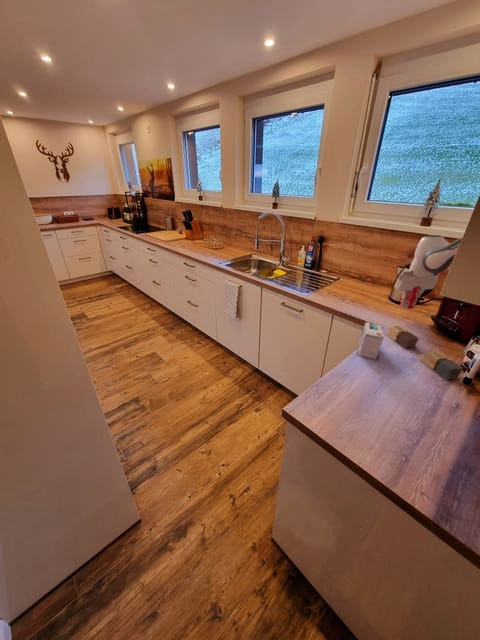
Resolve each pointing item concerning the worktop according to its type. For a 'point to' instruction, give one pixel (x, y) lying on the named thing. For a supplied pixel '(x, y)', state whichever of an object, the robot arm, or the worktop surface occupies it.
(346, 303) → the worktop surface
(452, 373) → the block row
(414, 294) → the beverage can
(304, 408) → the worktop surface
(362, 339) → the light bulb box
